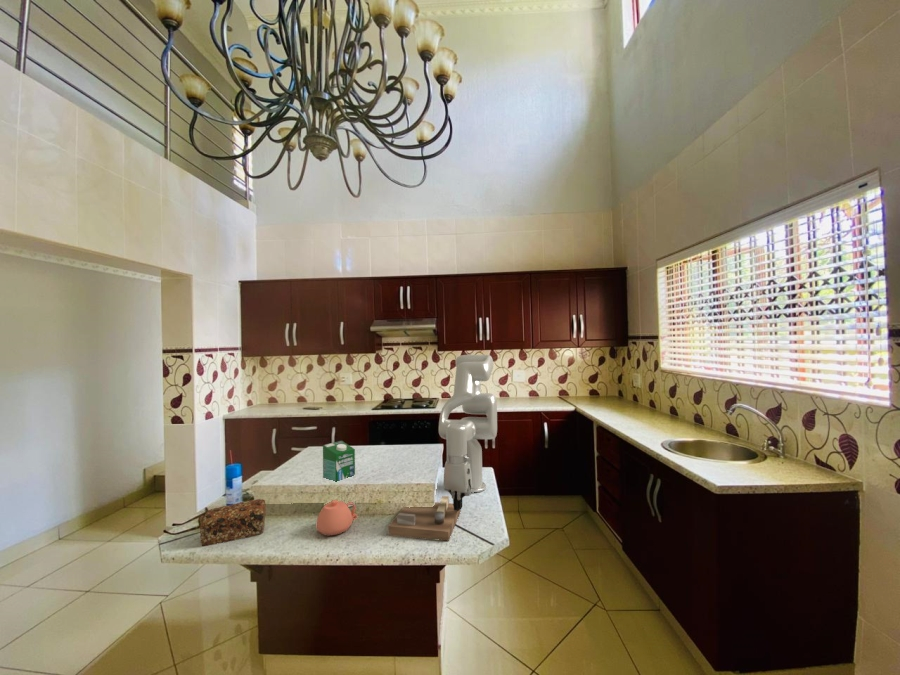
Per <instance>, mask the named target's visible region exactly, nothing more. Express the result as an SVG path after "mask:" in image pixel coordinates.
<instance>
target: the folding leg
mask: <svg viewBox="0 0 900 675" xmlns="http://www.w3.org/2000/svg"><path fill="white" fill-rule="evenodd" d="M439 503H440V504H439V506H438V509H437V512H435V523H436V524H442V523H444V517H445V514H446V510H447V507H448V504H449V503H450V497H449V495H448V496H443V495H442V496H441V499H440V501H439Z"/></svg>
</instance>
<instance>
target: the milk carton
mask: <svg viewBox="0 0 900 675" xmlns="http://www.w3.org/2000/svg"><path fill="white" fill-rule="evenodd" d="M354 475H355V476H356V451H355V448H354V447H352V446H351V445H349V444H348V443H346V442H344V441H343V440H338V441H334V442H331V443H330V442H329V443H327V444H324V445H323V444H322V479H323V478H326V479H329V480H333V481H335V482H337V481H340V480H343V479H346V478H348V477H352V476H354Z"/></svg>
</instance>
